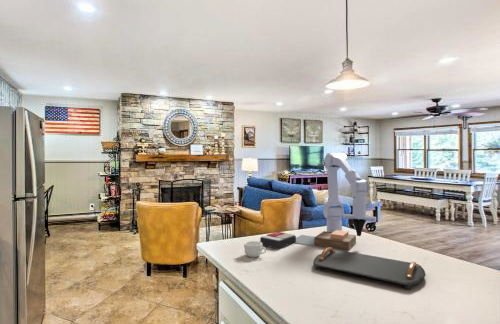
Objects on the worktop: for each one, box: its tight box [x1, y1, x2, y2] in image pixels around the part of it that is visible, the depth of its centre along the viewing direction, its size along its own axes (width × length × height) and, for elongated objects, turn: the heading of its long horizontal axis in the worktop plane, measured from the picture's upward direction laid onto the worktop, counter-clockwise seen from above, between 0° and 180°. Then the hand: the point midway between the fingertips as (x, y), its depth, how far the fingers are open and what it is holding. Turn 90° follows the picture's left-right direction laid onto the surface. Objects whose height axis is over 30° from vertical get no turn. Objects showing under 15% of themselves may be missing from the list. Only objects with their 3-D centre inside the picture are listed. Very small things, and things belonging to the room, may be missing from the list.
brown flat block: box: [313, 230, 357, 252], centre depth 155 cm, size 14×16×4 cm
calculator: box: [259, 231, 297, 250], centre depth 156 cm, size 11×4×15 cm
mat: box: [293, 234, 315, 247], centre depth 163 cm, size 16×12×1 cm
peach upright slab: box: [330, 230, 349, 240], centre depth 154 cm, size 9×6×2 cm, turn 149°
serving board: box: [312, 247, 427, 291], centre depth 121 cm, size 39×23×6 cm, turn 55°
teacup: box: [243, 240, 267, 258], centre depth 138 cm, size 10×8×5 cm
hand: (359, 235), depth 149 cm, fingers closed
